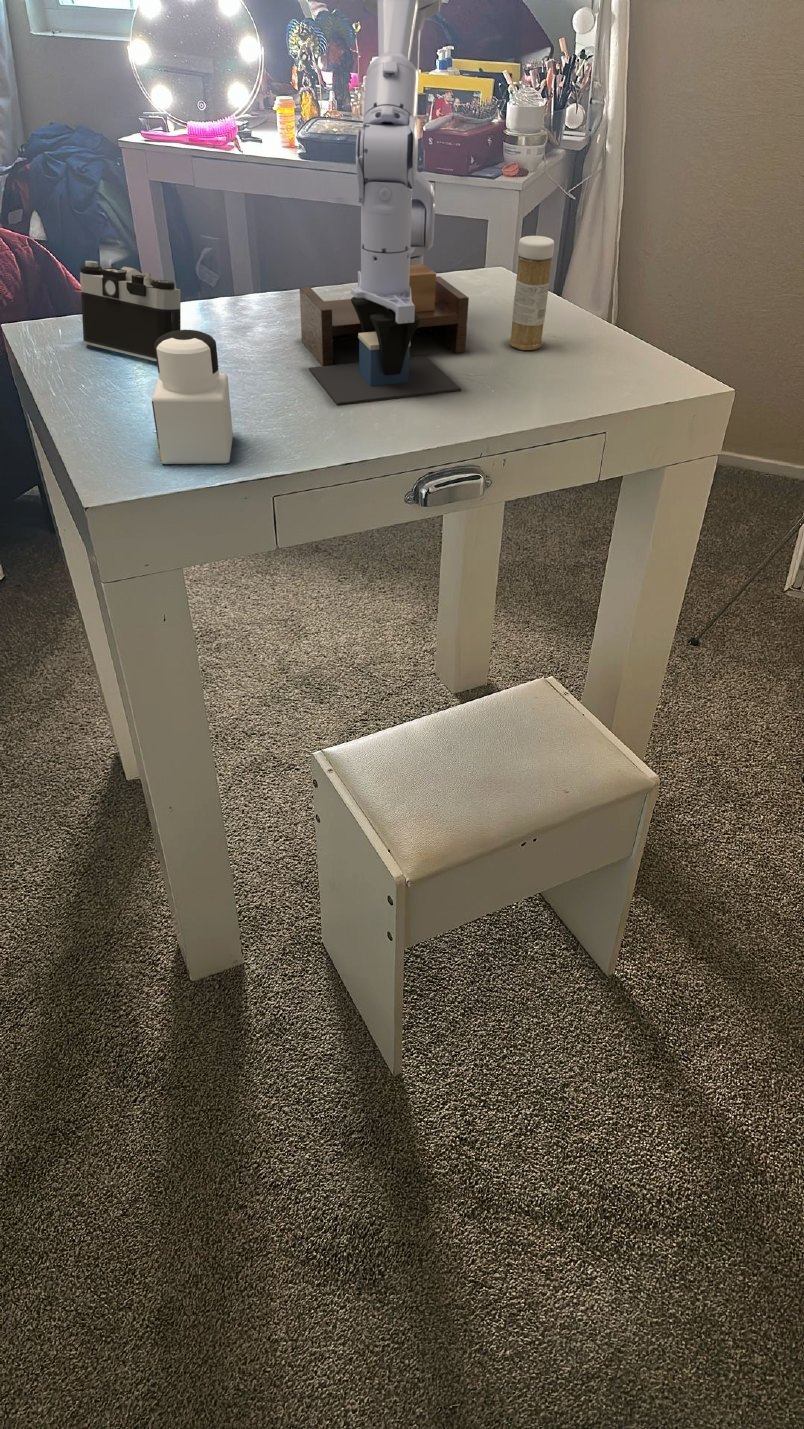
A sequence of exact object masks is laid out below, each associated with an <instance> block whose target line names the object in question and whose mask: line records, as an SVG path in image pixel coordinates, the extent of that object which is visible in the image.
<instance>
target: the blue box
mask: <svg viewBox="0 0 804 1429" xmlns="http://www.w3.org/2000/svg"><path fill="white" fill-rule="evenodd" d="M357 339H358V363H359V374H360V375H361V376H362V377H363V378H364V380H365V381H366V382H367V383H368V384H369V385H370V386H378V385H387V384H396V383H404V382H408V377H409V357H410V347H411V343H412V342H411V340H410V343H409V345H408V348H407V352H406V355H405V359H404V363H403V367H402V370H401V373H400V374H397V375H387V376H385V375H384V374H383V371H382V366H381V358H380V348H379V342H378V338H377V334H376V332H365V333H358V338H357Z"/></svg>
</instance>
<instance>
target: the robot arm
mask: <svg viewBox="0 0 804 1429" xmlns="http://www.w3.org/2000/svg"><path fill="white" fill-rule="evenodd" d="M362 2H363V4H364V7H365V10H366V11H368V12H369V13H372V14H374V15H375V16H377V38H378V39H377V48H378V51H377V52H378V54H377V55H378V57H376V58H375V59H373V61H371V62H370V64H369V65H368V67H367V70H366V75H365V76H366V78H365V88H364V89H365V90H364V102H363V103H364V104H363V118H362V129H361V128H358V129H357V133H356V141H355V172H356V177H357V185H358V186H357V187H358V203H359V204H361V205H360V206H361V207H360V270H358V271H357V286H353V287H351V288H350V290H351V292H350V293H351V296H352V297H351V298H350V299H351V302H352V304H353V306H354V308H355V311H356V313H357V315H358V318H359V321H360V325H361V328H362V333H365V332H376V334H377V338H378V342H379V348H380V358H381V366H382V371H383V374H384V375H385V376H387V375H397V374H400V373H401V370H402V367H403V363H404V359H405V355H406V352H407V348H408V345H409V343H410V341H411V340H412V338H413V336H414V334H415V333H416V332H415V330H416V329H417V327H418V326H419V324H420V317H418V316H417V315H416V314H415V305H414V304H413V303H412V300H411V287H410V286H409V278H410V265H421V264H424V257H425V251H430V250H431V249H432V247H433V246H434V236H435V221H436V220H435V218H436V203H435V196H436V194H435V193H436V192H435V190H434V186H433V184H432V183H431V182H430V181H429V180H428V179H427V178H426V177H424V176H423V175H422V174H421V173H420V172H419V171H418V162H419V161H418V160H419V159H418V158H419V135H418V108H419V107H418V104H419V103H418V102H419V79H420V78H419V73H420V72H419V71H420V69H419V68H420V46H421V45H420V44H421V43H420V42H421V36H422V31H423V28H424V25H425V22H426V19H428V18H431V17H432V16H435V15H438V14H439V13H440V12H441V6H442V5H443V0H362ZM414 332H415V333H414Z"/></svg>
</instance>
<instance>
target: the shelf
mask: <svg viewBox="0 0 804 1429" xmlns="http://www.w3.org/2000/svg"><path fill="white" fill-rule="evenodd" d="M469 300H470V298H469V296H467V295H466V294H465V293H463V292H462V291H460V290H459V289H458V288H456V286H454V285H452V284H451V283H449V282H448V281H447V280H445V279H444V278H443V277H441V276H436V289H435V309H434V311H423V312H415V314H416V315H417V316H418V317H420V324H419V326H418V327H417V329H416V330H415V332H414V334H415V333H423V332H431V333H432V334H433V335H434V336H435V337H437V338H438V339H439V340H440V341H441V342H443V344H445V345H446V346H447V347H448V348H450V349H451V350H452V351H453V352H454V353H456V354H459V353H465V352H466V343H467V330H468V316H469V314H468V312H469ZM299 310H300V330H301V331H300V332H301V343H303V345H304V346H305V348H306V349H307V350H308V351H309V352H310V354H312V355H313V357H314V358H315V359H316V360H317V361H318V363H319V364H320V366H330V365H334V342H333V341H341V340H352V339H359V338H358V333H362V328H361V325H360V321H359V318H358V315H357V313H356V311H355V308H354V306H353V304H352V302H351V298H345V299H334V300H333V299H332V300H323V299H322V298H321V297H320V296H319V294H317V293H316V292H315V291H314V290H313V288H312V287H310V286H299Z"/></svg>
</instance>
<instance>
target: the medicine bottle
mask: <svg viewBox="0 0 804 1429" xmlns="http://www.w3.org/2000/svg"><path fill="white" fill-rule="evenodd" d="M154 346H155V353H156V360H157V361H156V367H157V373H158V377H157V380H156V384H155V386H154V390H153V393H152V396H151V406H152V412H153V419H154V420H153V421H154V427H155V433H156V441H157V447H158V452H159V460H160V463H161V464H163V465H202V464H203V465H205V464H209V465H212V464H214V465H215V464H216V465H217V464H221V465H222V464H228V463H229V462H230V460H231V454H232V453H231V452H232V444H233V439H234V438H233V437H234V431H233V421H232V409H231V399H230V398H231V397H230V387H229V378H228V374H227V372H220V370H219V369H220V368H219V359H218V358H219V357H218V348H217V342H216V340H215V338H214V337H213V336H212V335H210V334H208V333H205V332H203V331H199V330H195V329H181V330H177V331H172V332H168V333H166V334H164V335H162V336H160V337H159V338H158V339H157V340H156V342H155V344H154Z"/></svg>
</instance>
